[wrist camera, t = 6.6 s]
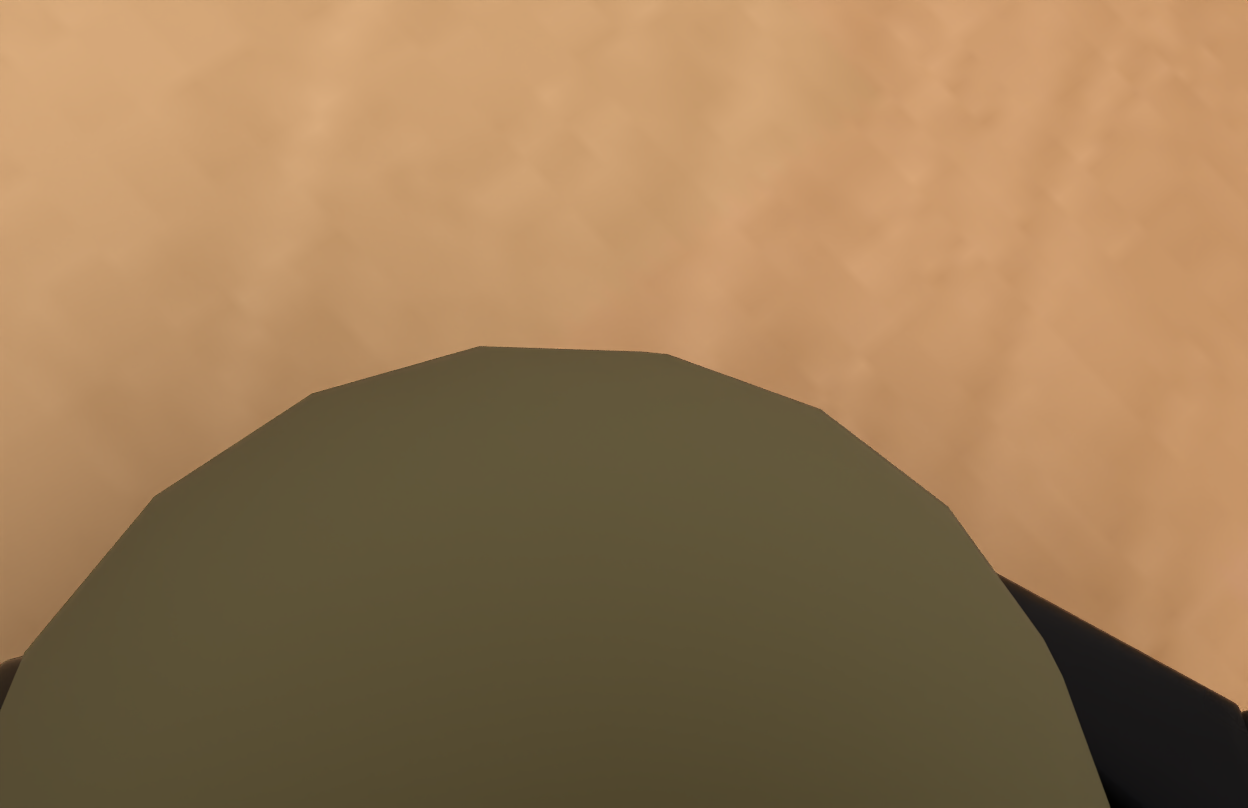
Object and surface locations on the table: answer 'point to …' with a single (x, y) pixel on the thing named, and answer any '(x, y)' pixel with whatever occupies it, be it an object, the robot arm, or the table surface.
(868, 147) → the table surface
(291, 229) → the table surface
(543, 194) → the table surface
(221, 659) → the olive chess pawn
